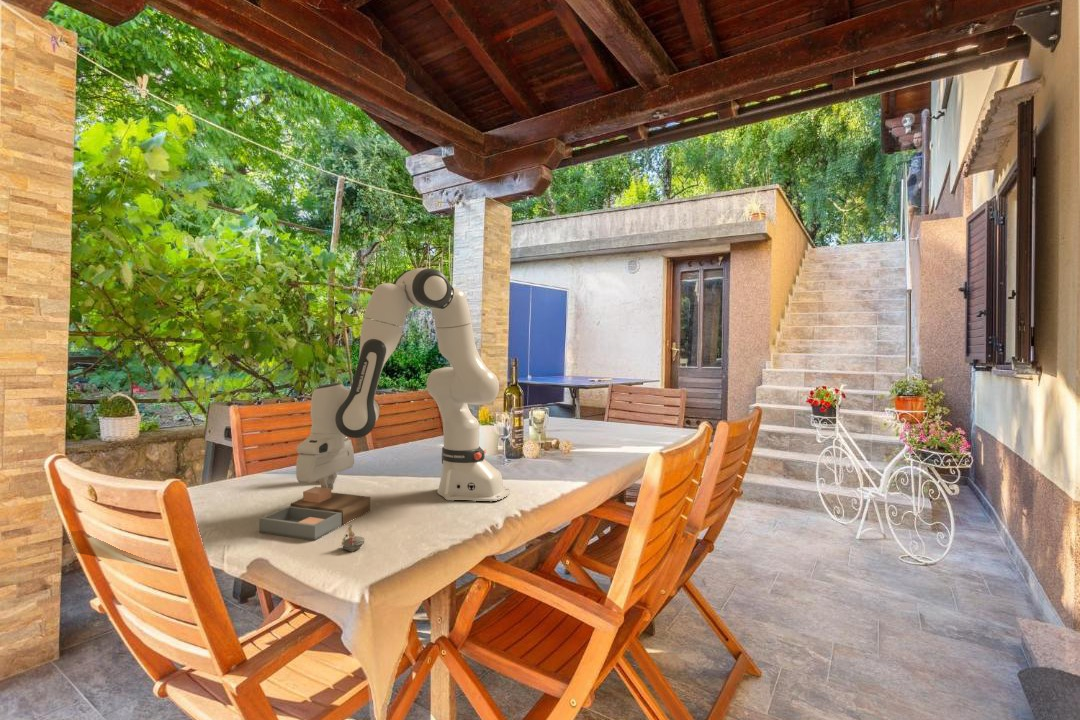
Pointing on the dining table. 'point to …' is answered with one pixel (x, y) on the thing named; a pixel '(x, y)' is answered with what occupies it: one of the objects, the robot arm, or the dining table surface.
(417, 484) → the dining table surface
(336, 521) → the box
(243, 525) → the dining table surface
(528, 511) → the dining table surface
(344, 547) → the figurine
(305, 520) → the tile
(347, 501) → the brown wooden platform
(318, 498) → the tile
